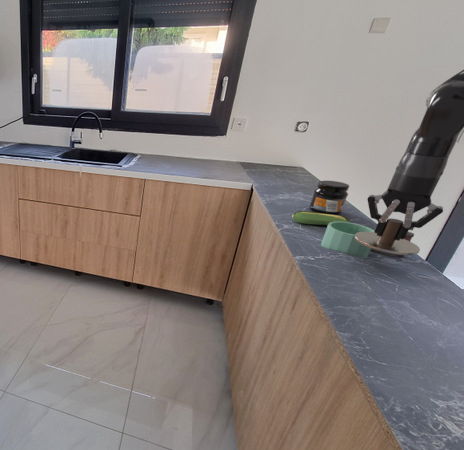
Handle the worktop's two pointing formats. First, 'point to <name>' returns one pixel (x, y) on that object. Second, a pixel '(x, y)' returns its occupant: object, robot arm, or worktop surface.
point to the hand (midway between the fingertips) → (387, 236)
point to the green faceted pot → (345, 238)
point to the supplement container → (329, 197)
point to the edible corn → (317, 218)
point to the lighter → (408, 237)
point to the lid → (388, 239)
